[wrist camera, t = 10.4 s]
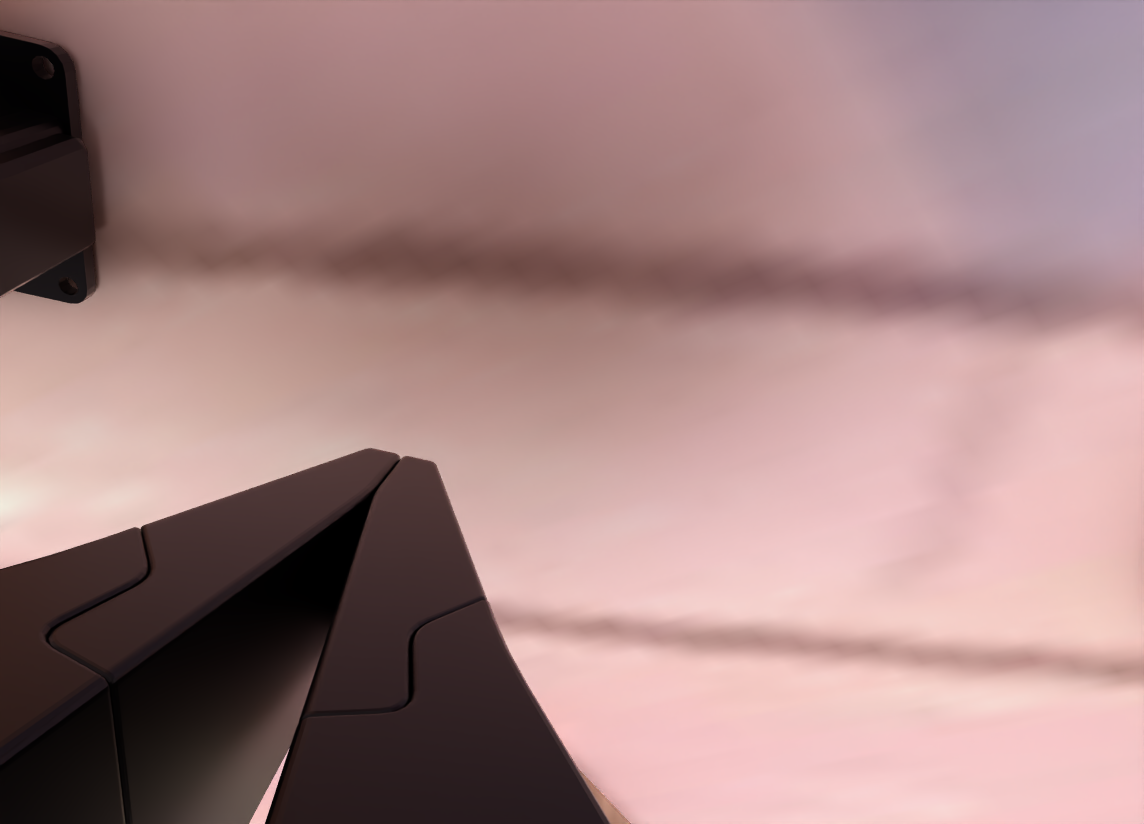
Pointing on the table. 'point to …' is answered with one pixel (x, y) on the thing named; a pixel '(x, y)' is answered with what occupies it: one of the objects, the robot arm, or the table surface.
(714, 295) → the table surface
